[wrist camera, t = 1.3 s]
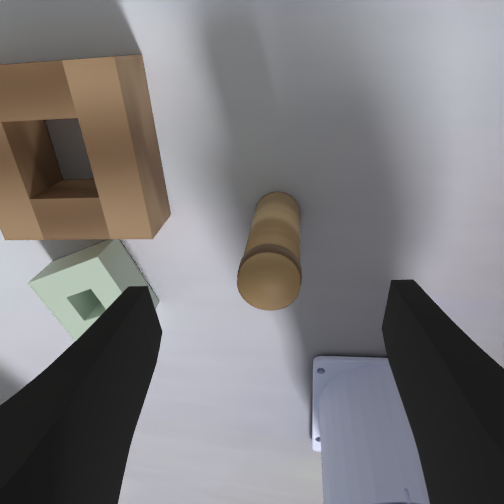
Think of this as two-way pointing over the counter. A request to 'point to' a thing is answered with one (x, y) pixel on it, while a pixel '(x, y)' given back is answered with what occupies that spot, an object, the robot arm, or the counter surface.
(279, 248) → the wooden peg
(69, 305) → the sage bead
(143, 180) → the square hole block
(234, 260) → the counter surface
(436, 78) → the counter surface
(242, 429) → the counter surface
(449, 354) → the robot arm
